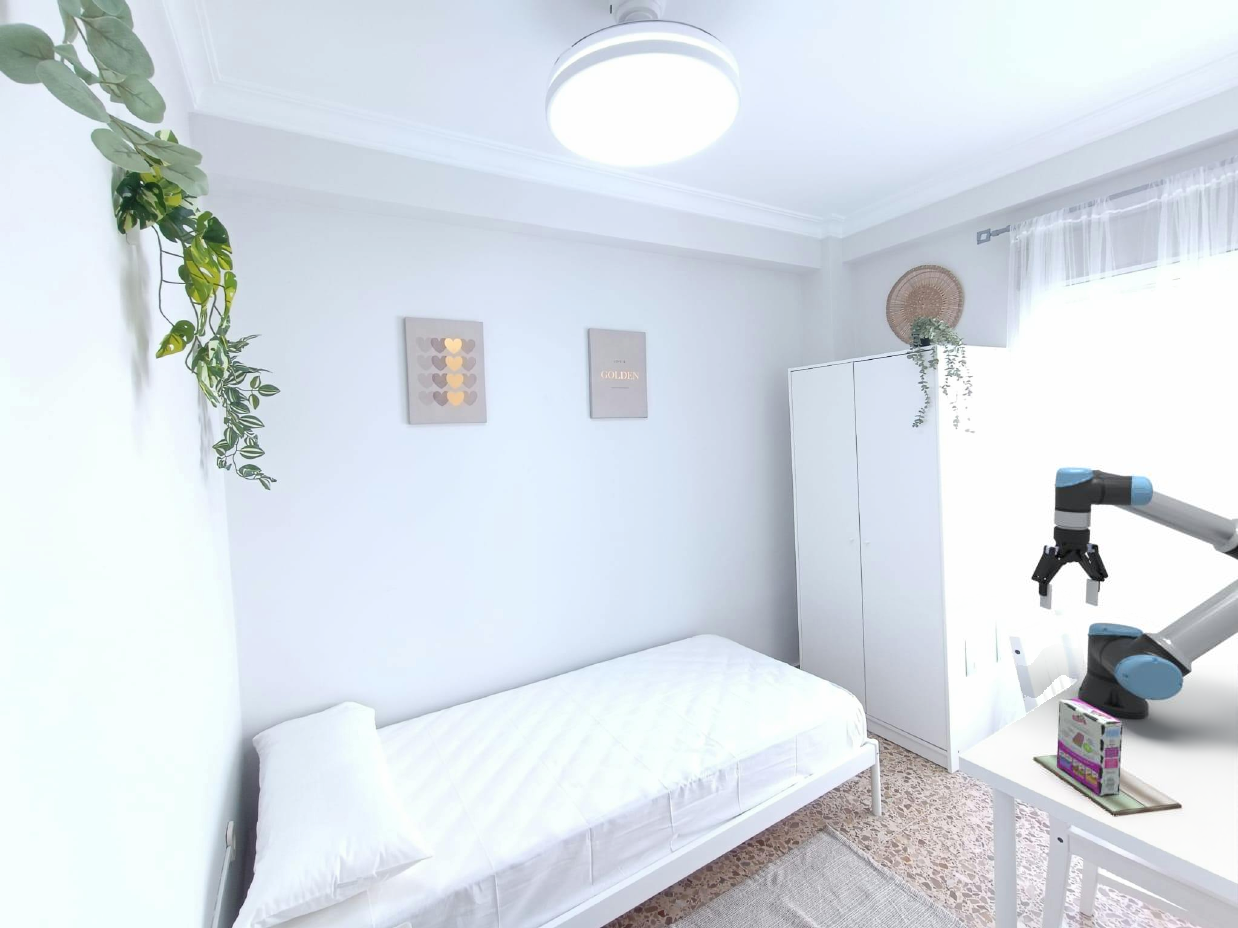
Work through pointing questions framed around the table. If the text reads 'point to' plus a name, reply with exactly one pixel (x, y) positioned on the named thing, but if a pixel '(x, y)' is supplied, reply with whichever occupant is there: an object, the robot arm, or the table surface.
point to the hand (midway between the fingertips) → (1068, 606)
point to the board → (1131, 792)
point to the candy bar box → (1089, 746)
